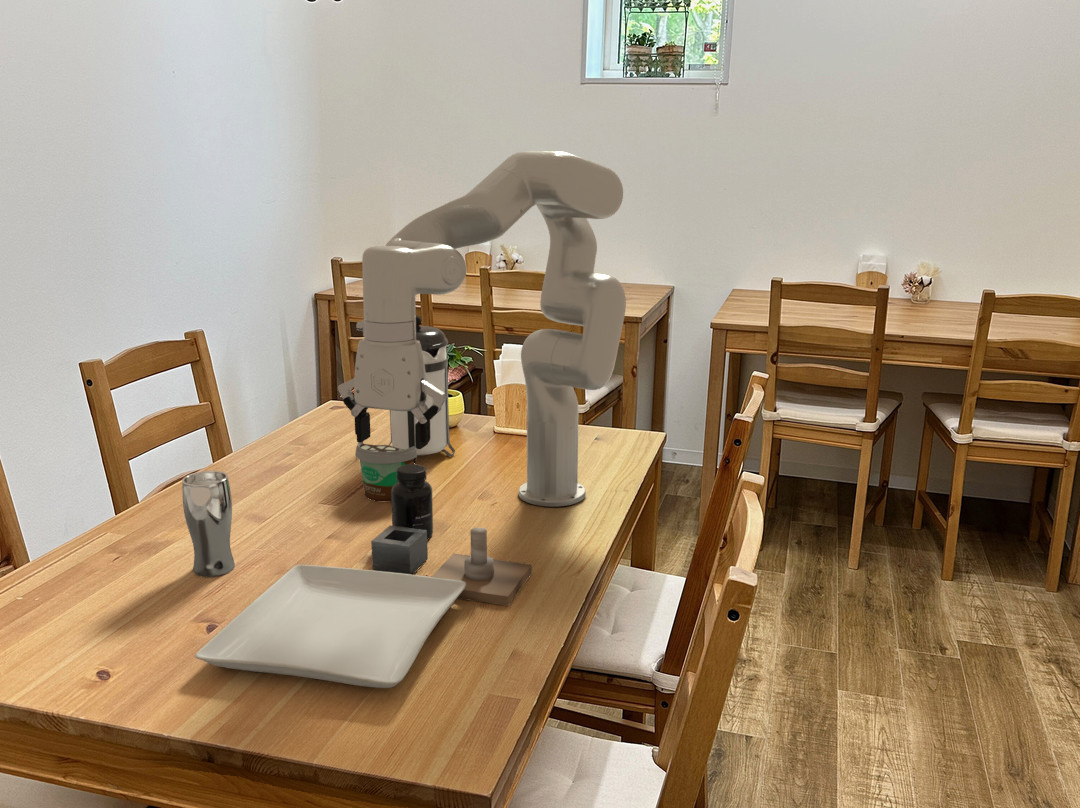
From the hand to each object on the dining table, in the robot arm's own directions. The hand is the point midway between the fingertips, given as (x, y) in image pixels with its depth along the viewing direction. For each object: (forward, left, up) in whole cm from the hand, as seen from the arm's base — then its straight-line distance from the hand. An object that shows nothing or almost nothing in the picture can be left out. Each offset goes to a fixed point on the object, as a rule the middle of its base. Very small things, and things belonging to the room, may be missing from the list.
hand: (392, 443), depth 138 cm
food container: (-25, -15, -20) cm, 36 cm away
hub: (0, +1, -20) cm, 20 cm away
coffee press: (-51, -20, -20) cm, 58 cm away
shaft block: (+2, +15, -20) cm, 25 cm away
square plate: (+22, +3, -21) cm, 30 cm away
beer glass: (+10, -26, -20) cm, 35 cm away
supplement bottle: (-11, -2, -20) cm, 23 cm away
